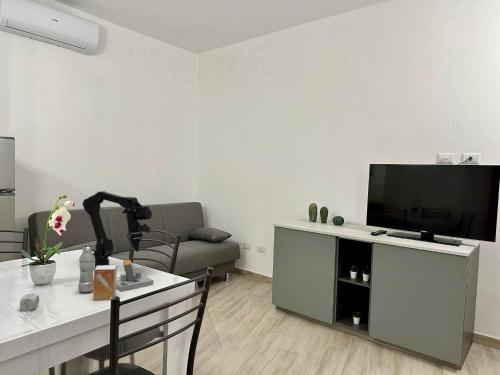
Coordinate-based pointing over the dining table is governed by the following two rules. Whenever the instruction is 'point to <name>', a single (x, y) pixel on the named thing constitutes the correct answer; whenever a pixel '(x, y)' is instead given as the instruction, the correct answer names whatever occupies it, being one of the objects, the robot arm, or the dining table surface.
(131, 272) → the lever
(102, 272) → the small box
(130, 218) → the robot arm
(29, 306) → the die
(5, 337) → the dining table surface
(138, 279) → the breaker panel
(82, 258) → the plastic bottle
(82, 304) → the dining table surface
